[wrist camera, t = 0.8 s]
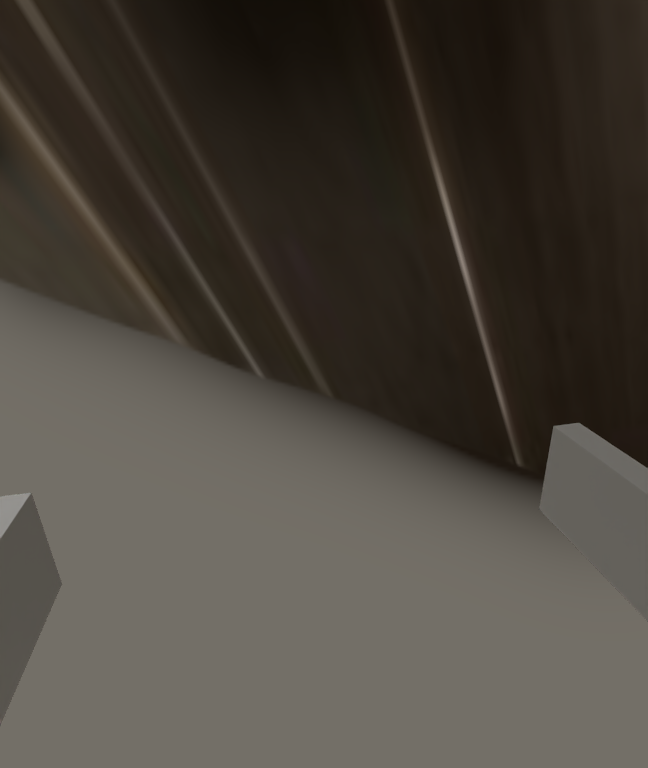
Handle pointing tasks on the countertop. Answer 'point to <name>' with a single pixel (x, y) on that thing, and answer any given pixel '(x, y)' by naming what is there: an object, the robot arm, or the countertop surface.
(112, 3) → the countertop surface
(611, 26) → the countertop surface
